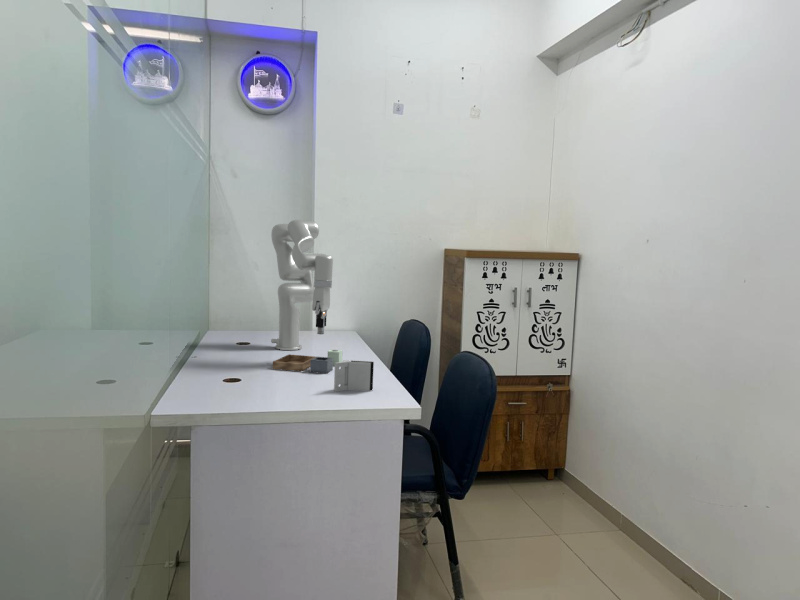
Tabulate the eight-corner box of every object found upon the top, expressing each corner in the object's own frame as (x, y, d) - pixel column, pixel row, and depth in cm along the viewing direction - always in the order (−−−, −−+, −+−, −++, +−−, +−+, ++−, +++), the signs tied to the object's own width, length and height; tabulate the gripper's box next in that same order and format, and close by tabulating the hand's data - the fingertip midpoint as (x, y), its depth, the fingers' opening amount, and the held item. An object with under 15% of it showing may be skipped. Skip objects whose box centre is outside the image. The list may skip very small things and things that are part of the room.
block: (310, 372, 224) (310, 359, 223) (316, 368, 231) (316, 356, 230) (327, 373, 223) (327, 361, 222) (332, 370, 229) (333, 357, 229)
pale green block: (327, 365, 238) (327, 351, 238) (331, 363, 243) (331, 349, 243) (338, 366, 237) (339, 351, 237) (342, 364, 242) (342, 349, 242)
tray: (272, 369, 227) (272, 361, 226) (288, 361, 243) (288, 354, 243) (302, 371, 224) (302, 364, 224) (316, 363, 240) (316, 356, 240)
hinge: (334, 391, 196) (334, 363, 195) (332, 387, 201) (333, 360, 201) (373, 391, 199) (374, 363, 198) (371, 387, 204) (372, 360, 203)
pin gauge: (316, 334, 242) (317, 310, 241) (318, 332, 245) (319, 310, 244) (322, 334, 241) (323, 311, 240) (324, 333, 244) (326, 310, 243)
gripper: (320, 282, 249) (318, 323, 251) (307, 285, 233) (305, 328, 235) (337, 283, 248) (335, 324, 250) (324, 286, 232) (322, 330, 234)
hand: (320, 326), depth 243 cm, fingers closed on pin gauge, 2 cm apart
